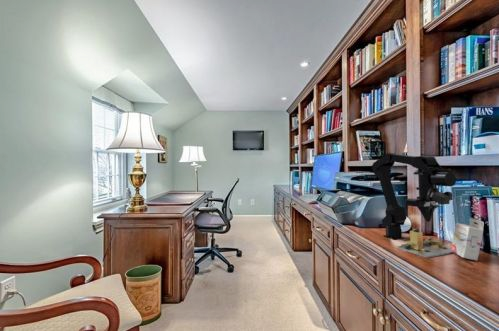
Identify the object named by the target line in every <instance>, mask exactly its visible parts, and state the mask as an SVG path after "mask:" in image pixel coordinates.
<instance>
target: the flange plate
mask: <svg viewBox="0 0 499 331" xmlns="http://www.w3.org/2000/svg"><path fill="white" fill-rule="evenodd" d="M442 246H445V245H443V244H442ZM397 249H400V250H402V251H405V252H408V253H411V254H414V255H416V256H420V257H423V258H425V259H428V258H434V257H435V258H436V257H441V256H446V255H451V254H452V255H453V254H455V253H454V252H452V251H451V246H447V245H446V246H445V248H442V247H435V246H432V245H427V246H423V249H425V251H423V250H416V249H413V248H408V249H404V248H401V246H400V245H399V246H397Z"/></svg>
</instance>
